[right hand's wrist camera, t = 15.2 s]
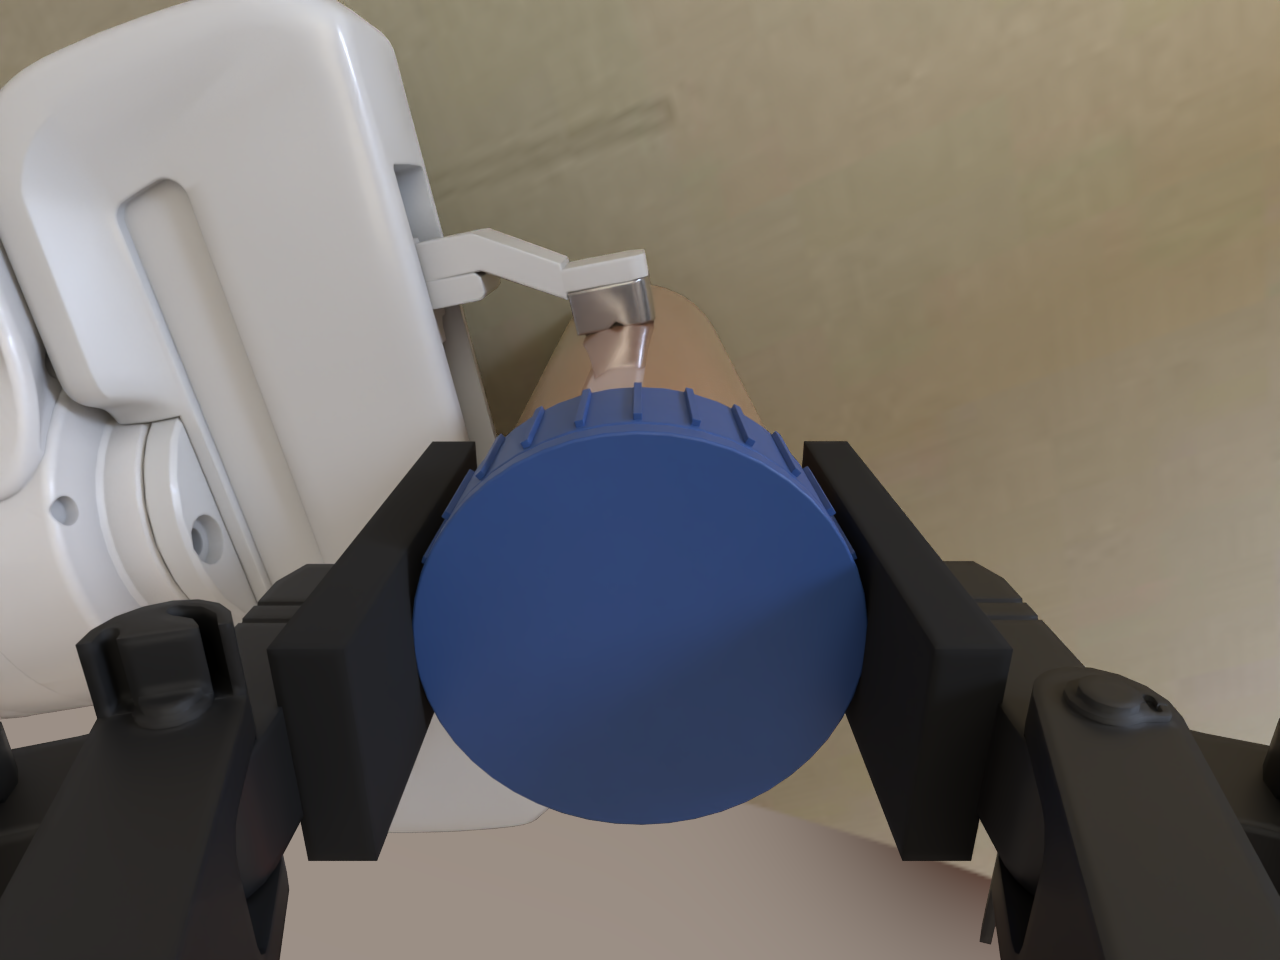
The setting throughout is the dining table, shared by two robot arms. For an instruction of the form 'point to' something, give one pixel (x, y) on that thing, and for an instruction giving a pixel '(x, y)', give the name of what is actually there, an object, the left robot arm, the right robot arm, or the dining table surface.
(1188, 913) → the right robot arm
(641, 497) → the lid
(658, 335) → the jar
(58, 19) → the dining table surface
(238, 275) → the left robot arm
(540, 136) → the dining table surface
